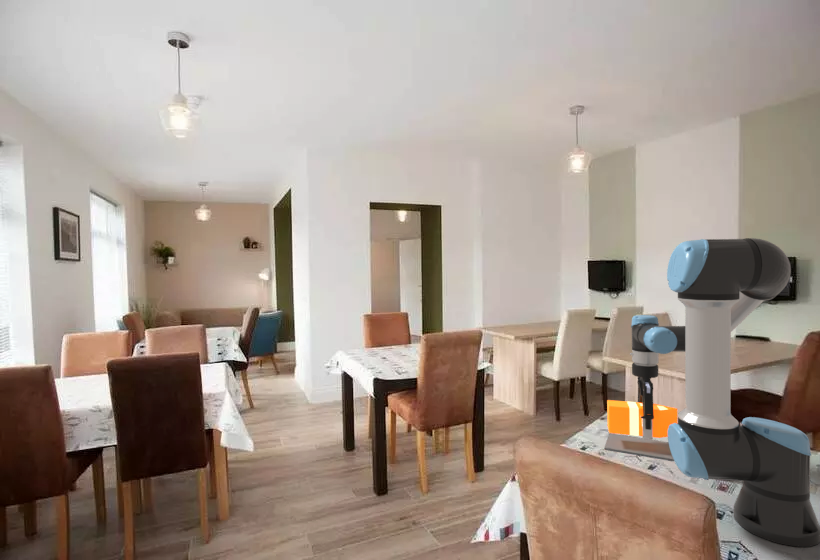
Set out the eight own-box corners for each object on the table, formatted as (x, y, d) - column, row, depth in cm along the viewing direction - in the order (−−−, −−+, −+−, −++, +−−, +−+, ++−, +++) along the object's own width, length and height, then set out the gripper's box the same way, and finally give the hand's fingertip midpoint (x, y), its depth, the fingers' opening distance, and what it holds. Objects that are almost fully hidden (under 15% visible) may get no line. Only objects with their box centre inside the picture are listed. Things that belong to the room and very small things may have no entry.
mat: (680, 462, 133) (680, 460, 133) (604, 449, 144) (604, 447, 144) (679, 445, 145) (679, 443, 145) (609, 434, 156) (609, 433, 156)
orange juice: (607, 399, 151) (674, 404, 144) (607, 425, 151) (674, 432, 144) (609, 406, 144) (680, 411, 137) (609, 433, 144) (680, 440, 137)
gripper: (628, 356, 154) (628, 421, 155) (636, 370, 135) (636, 444, 135) (652, 357, 152) (653, 423, 152) (664, 371, 132) (664, 447, 133)
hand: (645, 433), depth 144 cm, fingers closed on orange juice, 8 cm apart
